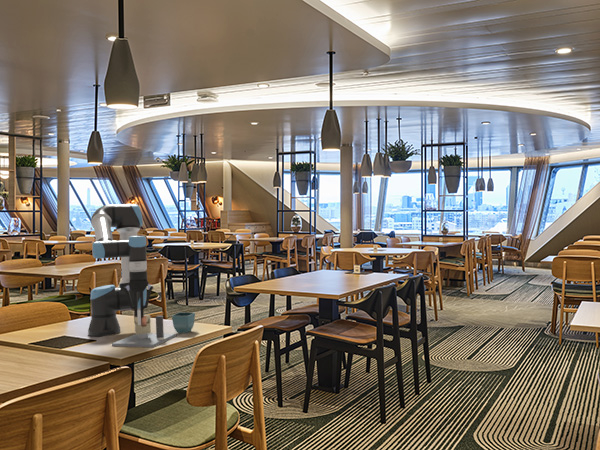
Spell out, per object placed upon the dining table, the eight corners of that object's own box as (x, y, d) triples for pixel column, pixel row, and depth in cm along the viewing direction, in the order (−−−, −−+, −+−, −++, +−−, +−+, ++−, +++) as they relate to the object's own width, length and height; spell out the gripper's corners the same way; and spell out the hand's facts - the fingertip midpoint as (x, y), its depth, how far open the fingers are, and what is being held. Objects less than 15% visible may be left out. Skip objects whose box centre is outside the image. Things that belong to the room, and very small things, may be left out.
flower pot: (189, 334, 268) (188, 315, 267) (171, 334, 269) (171, 315, 269) (196, 330, 276) (195, 312, 276) (179, 330, 278) (178, 312, 278)
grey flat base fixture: (112, 346, 247) (111, 321, 247) (137, 335, 269) (136, 312, 269) (153, 347, 243) (152, 322, 242) (176, 336, 264) (175, 313, 264)
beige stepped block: (134, 331, 258) (133, 312, 258) (150, 330, 261) (149, 310, 260) (136, 337, 245) (135, 317, 244) (153, 336, 247) (152, 315, 247)
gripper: (122, 272, 241) (123, 326, 241) (152, 270, 243) (154, 324, 244) (123, 270, 248) (124, 323, 248) (153, 269, 251) (154, 321, 251)
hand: (139, 324), depth 246 cm, fingers closed
